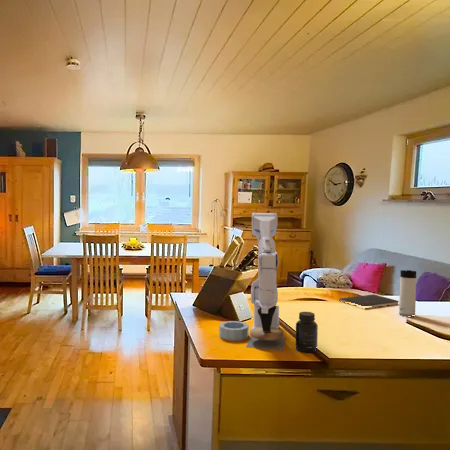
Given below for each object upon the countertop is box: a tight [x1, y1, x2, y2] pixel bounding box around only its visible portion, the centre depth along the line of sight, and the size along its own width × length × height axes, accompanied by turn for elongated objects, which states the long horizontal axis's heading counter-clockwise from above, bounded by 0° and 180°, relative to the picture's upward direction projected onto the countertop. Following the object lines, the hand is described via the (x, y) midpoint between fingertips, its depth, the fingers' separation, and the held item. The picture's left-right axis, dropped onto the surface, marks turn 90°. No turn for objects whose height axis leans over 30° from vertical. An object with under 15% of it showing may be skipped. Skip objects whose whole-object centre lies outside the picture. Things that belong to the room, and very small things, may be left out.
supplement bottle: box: [295, 311, 319, 354], centre depth 119 cm, size 7×7×12 cm
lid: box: [249, 326, 284, 340], centre depth 125 cm, size 11×11×6 cm
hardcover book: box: [338, 294, 399, 308], centre depth 183 cm, size 16×23×2 cm
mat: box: [245, 335, 287, 352], centre depth 125 cm, size 12×12×1 cm
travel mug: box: [398, 269, 417, 317], centre depth 161 cm, size 6×7×20 cm
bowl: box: [218, 320, 250, 342], centre depth 132 cm, size 10×10×4 cm
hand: (266, 329), depth 125 cm, fingers closed on lid, 3 cm apart
